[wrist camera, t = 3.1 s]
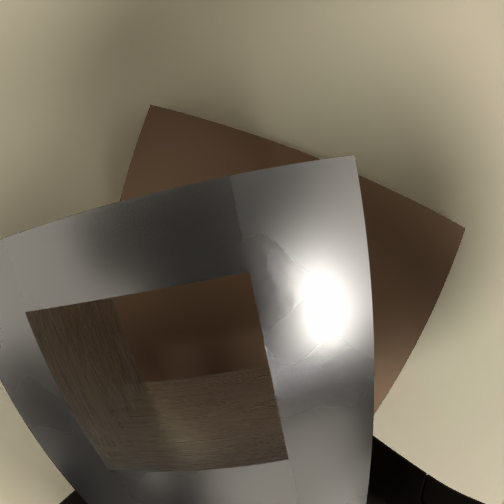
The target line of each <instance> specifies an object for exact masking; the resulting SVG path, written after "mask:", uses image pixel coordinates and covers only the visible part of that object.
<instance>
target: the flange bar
mask: <svg viewBox="0 0 504 504" xmlns="http://www.w3.org/2000/svg"><path fill="white" fill-rule="evenodd" d="M246 272H250V277H251V282H252V287H253V292H254V297H255V301H256V306H257V311H258V316H259V321H260V326H261V330H262V335H263V340H264V345H265V350H266V354H267V359H268V364H269V365H267V366H261V367H256V368H250V369H245V370H239V371H232V372H226V373H219V374H213V375H206V376H198V377H190V378H182V379H173V380H164V381H154V382H144V380H143V378H142V375H141V373H140V370H139V368H138V366H137V363H136V361H135V358H134V355H133V353H132V350H131V348H130V345H129V342H128V340H127V337H126V334H125V332H124V329H123V326H122V323H121V320H120V317H119V314H118V312H117V309H116V306H115V302H114V299H113V297H117V296H123V295H128V294H134V293H140V292H145V291H151V290H156V289H162V288H167V287H172V286H178V285H183V284H189V283H194V282H199V281H204V280H210V279H215V278H220V277H225V276H231V275H236V274H241V273H246ZM0 380H1V382H2V384H3V386H4V387H5V389H6V391H7V393H8V395H9V396H10V398H11V400H12V402H13V403H14V405H15V407H16V409H17V410H18V412H19V414H20V415H21V417H22V418H23V420H24V422H25V423H26V425H27V426H28V428H29V429H30V431H31V432H32V434H33V435H34V437H35V438H36V440H37V441H38V443H39V444H40V445H41V447H42V448H43V450H44V451H45V452H46V454H47V455H48V457H49V458H50V459H51V461H52V462H53V463H54V464H55V466H56V467H57V468H58V470H59V471H60V472H61V473H62V475H63V476H64V477H65V478H66V479H67V481H68V482H69V483H70V484H71V485H72V487H73V488H74V489H75V490H76V491H77V492H78V494H79V495H80V496H81V497H82V498H83V499H84V500H85V501H86V502H87V503H88V504H366V502H367V494H368V485H369V475H370V464H371V452H372V437H373V416H374V329H373V308H372V291H371V278H370V266H369V255H368V246H367V236H366V228H365V220H364V212H363V205H362V198H361V191H360V185H359V178H358V172H357V166H356V160H355V155H350V156H342V157H335V158H328V159H321V160H315V161H308V162H302V163H296V164H290V165H284V166H278V167H273V168H267V169H262V170H256V171H251V172H246V173H241V174H236V175H231V176H226V177H221V178H216V179H211V180H207V181H202V182H198V183H193V184H189V185H184V186H180V187H176V188H172V189H168V190H163V191H159V192H155V193H151V194H147V195H143V196H139V197H136V198H132V199H128V200H124V201H121V202H117V203H113V204H110V205H106V206H103V207H99V208H96V209H92V210H89V211H85V212H82V213H79V214H75V215H72V216H69V217H65V218H62V219H59V220H56V221H53V222H50V223H47V224H44V225H40V226H37V227H34V228H31V229H29V230H26V231H23V232H20V233H17V234H14V235H11V236H8V237H6V238H3V239H0Z"/></svg>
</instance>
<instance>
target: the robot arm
mask: <svg viewBox="0 0 504 504" xmlns="http://www.w3.org/2000/svg"><path fill="white" fill-rule="evenodd" d="M60 504H88V503H87V502H86V501H85V500H84V499H83V498H82V497H81V496H80V495H79V494H78V492H77V491H76V490H75V491H74V492H72V493H71V494H70V495H69V496H68V497H67V498H65V499H64V500H63V501H62V502H61V503H60ZM366 504H485V503H482V502H480V501H477V500H475V499H473V498H470V497H468V496H466V495H464V494H461V493H459V492H457V491H455V490H453V489H451V488H449V487H448V486H446V485H444V484H443V483H441V482H439V481H438V480H436V479H435V478H433V477H432V476H430V475H429V474H428V475H427V473H426V472H424V471H423V470H421V469H420V468H418V467H417V466H415V465H414V464H412V463H411V462H409V461H408V460H407V459H405V458H404V457H402V456H401V455H399V454H398V453H397V452H395V451H394V450H392V449H391V448H390V447H388V446H387V445H385V444H384V443H383V442H381V441H380V440H378V439H377V438H376V437H374V436H373V437H372V452H371V464H370V475H369V485H368V494H367V502H366Z"/></svg>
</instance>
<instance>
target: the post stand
mask: <svg viewBox="0 0 504 504" xmlns="http://www.w3.org/2000/svg"><path fill="white" fill-rule="evenodd" d="M315 160H321V159H318V158H316V157H313V156H311V155H308V154H305V153H303V152H300V151H298V150H295V149H292V148H289V147H287V146H284V145H281V144H279V143H276V142H273V141H270V140H267V139H264V138H261V137H259V136H256V135H253V134H250V133H247V132H244V131H240V130H237V129H234V128H231V127H228V126H225V125H222V124H218V123H215V122H212V121H208V120H205V119H201V118H198V117H194V116H191V115H187V114H184V113H180V112H176V111H172V110H169V109H165V108H161V107H157V106H153V105H150V108H149V111H148V114H147V116H146V119H145V122H144V125H143V128H142V130H141V133H140V136H139V139H138V142H137V145H136V148H135V151H134V155H133V158H132V161H131V164H130V167H129V171H128V174H127V178H126V181H125V185H124V188H123V192H122V195H121V199H120V202H121V201H124V200H128V199H132V198H136V197H139V196H143V195H147V194H151V193H155V192H159V191H163V190H168V189H172V188H176V187H180V186H184V185H189V184H193V183H198V182H202V181H207V180H211V179H216V178H221V177H226V176H231V175H236V174H241V173H246V172H251V171H256V170H262V169H267V168H273V167H278V166H284V165H290V164H296V163H302V162H308V161H315ZM358 178H359V185H360V191H361V198H362V205H363V212H364V220H365V228H366V236H367V246H368V255H369V266H370V278H371V291H372V308H373V329H374V414H375V412H376V411H377V409H378V408H379V406H380V405H381V403H382V401H383V400H384V398H385V397H386V395H387V394H388V392H389V390H390V389H391V387H392V385H393V384H394V382H395V380H396V379H397V377H398V375H399V374H400V372H401V370H402V368H403V367H404V365H405V363H406V361H407V359H408V358H409V356H410V354H411V352H412V350H413V348H414V347H415V345H416V343H417V341H418V339H419V337H420V335H421V333H422V331H423V329H424V327H425V325H426V323H427V321H428V319H429V317H430V315H431V313H432V310H433V308H434V306H435V304H436V302H437V299H438V297H439V295H440V293H441V290H442V288H443V286H444V283H445V281H446V279H447V276H448V274H449V271H450V269H451V266H452V264H453V261H454V258H455V256H456V253H457V250H458V248H459V245H460V242H461V239H462V237H463V234H464V231H465V228H464V227H462V226H460V225H458V224H457V223H455V222H453V221H451V220H449V219H447V218H446V217H444V216H442V215H440V214H438V213H436V212H434V211H432V210H430V209H428V208H427V207H425V206H423V205H421V204H419V203H417V202H415V201H413V200H411V199H409V198H407V197H404V196H402V195H400V194H398V193H396V192H394V191H392V190H390V189H388V188H386V187H383V186H381V185H379V184H377V183H375V182H372V181H370V180H368V179H366V178H364V177H361V176H359V175H358ZM113 299H114V302H115V306H116V309H117V312H118V314H119V317H120V320H121V323H122V326H123V329H124V332H125V334H126V337H127V340H128V342H129V345H130V348H131V350H132V353H133V355H134V358H135V361H136V363H137V366H138V368H139V370H140V373H141V375H142V378H143V380H144V382H154V381H164V380H173V379H182V378H190V377H198V376H206V375H213V374H219V373H226V372H232V371H239V370H245V369H250V368H256V367H261V366H267V365H269V364H268V359H267V354H266V350H265V345H264V340H263V335H262V330H261V326H260V321H259V316H258V311H257V306H256V301H255V297H254V292H253V287H252V282H251V277H250V272H246V273H241V274H236V275H231V276H225V277H220V278H215V279H210V280H204V281H199V282H194V283H189V284H183V285H178V286H172V287H167V288H162V289H156V290H151V291H145V292H140V293H134V294H128V295H123V296H117V297H113Z"/></svg>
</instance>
